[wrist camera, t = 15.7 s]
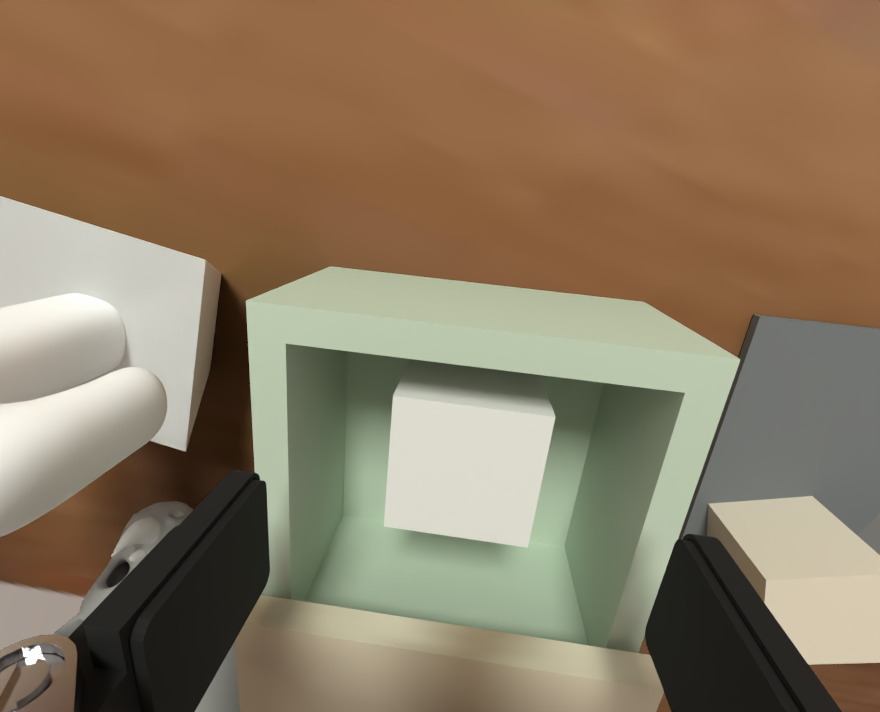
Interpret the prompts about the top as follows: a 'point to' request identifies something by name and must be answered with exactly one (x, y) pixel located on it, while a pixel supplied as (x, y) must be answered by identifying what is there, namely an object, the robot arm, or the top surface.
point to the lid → (424, 666)
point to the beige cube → (806, 574)
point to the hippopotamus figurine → (134, 544)
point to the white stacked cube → (467, 452)
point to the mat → (798, 422)
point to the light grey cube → (872, 534)
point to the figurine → (92, 353)
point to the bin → (566, 470)
